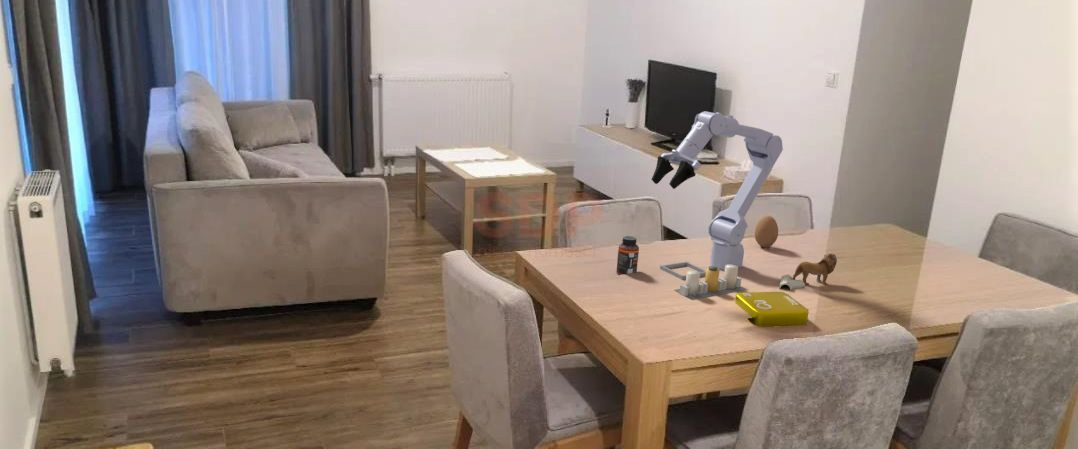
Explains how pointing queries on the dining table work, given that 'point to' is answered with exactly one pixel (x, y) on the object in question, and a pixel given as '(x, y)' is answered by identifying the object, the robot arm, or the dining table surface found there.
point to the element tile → (772, 309)
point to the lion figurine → (817, 268)
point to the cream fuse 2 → (731, 275)
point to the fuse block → (703, 292)
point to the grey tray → (666, 267)
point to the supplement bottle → (627, 256)
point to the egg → (766, 231)
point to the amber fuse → (712, 278)
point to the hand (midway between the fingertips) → (662, 184)
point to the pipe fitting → (791, 282)
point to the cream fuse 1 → (692, 282)
